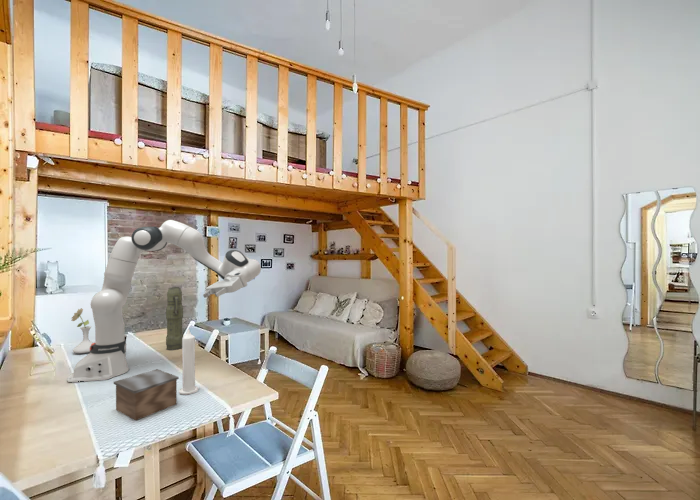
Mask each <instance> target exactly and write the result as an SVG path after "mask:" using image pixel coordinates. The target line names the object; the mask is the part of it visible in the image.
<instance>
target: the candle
mask: <svg viewBox="0 0 700 500" xmlns="http://www.w3.org/2000/svg"><path fill="white" fill-rule="evenodd" d="M181 349H182V354H181V355H182V363H181V364H182V387H181V388H180V389H179V390H178V393H179V394H180V395H183V396H188V395H192V394H195V393H197V392H198V391H199V387H198V386H197V385H196V336H195V335H193V334H192V333H191V330H190V328H187V332H186V334H185V335H183V338H182V348H181Z"/></svg>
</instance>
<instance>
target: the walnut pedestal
mask: <svg viewBox="0 0 700 500" xmlns="http://www.w3.org/2000/svg"><path fill="white" fill-rule="evenodd" d="M179 379H180V378H179V376H177V375H174V374H173V373H169V372H167V371H164V370H161V369H158V368H156V369H153V370H148V371H146V372H142V373H138V374H135V375H132V376H128V377H125V378H121V379H119V380H115V381H113V385H115V410H116V411H118V412H119V413H121V414H123V415H125V416H127V417H128V418H130V419H132V420H134V421H138V420H140V419H143V418H145V417H147V416H150V415H153V414H156V413H158V412H160V411H163V410H166V409H168V408H170V407H171V408H172V406H176V405H177V404H178V403H177V400H178V399H177V398H178V396H177V393H178V392H177V391H178V390H177V385H178V384H177V382H178V381H177V380H179Z"/></svg>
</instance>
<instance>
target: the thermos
mask: <svg viewBox="0 0 700 500" xmlns="http://www.w3.org/2000/svg"><path fill="white" fill-rule="evenodd" d="M166 299H167V304H166V305H167V306H166V309H165V317H166V318H165V319H166V337H165V345H166V350H167V351H177V350H181V349H182V338H183V337H184V335H183V318H184V306H183V303H182V301H183V292H182V288H181V287H179V286H172V287H170V288H168V290H167V293H166Z"/></svg>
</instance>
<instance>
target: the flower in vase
mask: <svg viewBox="0 0 700 500" xmlns="http://www.w3.org/2000/svg"><path fill="white" fill-rule="evenodd" d="M83 311H84V309H83V308H78V309H77V311H76V312H74V313H73V315H72V317H71V318H70V319H71V321H72V322H75V321H77V319H79V318H80V320H81V322H80V323H78V324H77V326H76V327H77V328H79V327H80V328H79V329H80V330H81V332H82V335H83V336H82V337H83V338H82V341H81V342H80V343H79V344H78V345H76V346H75V347H74V348H73V349H72V352H73V353H74V354H89V353H91V352H90V346H91V344H92V343H94V342H92V341H91V340H90V339H89V332H90V329H91V328H92V326H91V325H90V326H88V325H89V324H90V321H89V319H87V320H85V321H84V320H83V318H82V316H81V315H82V314H83ZM82 325H83V326H82Z"/></svg>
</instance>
